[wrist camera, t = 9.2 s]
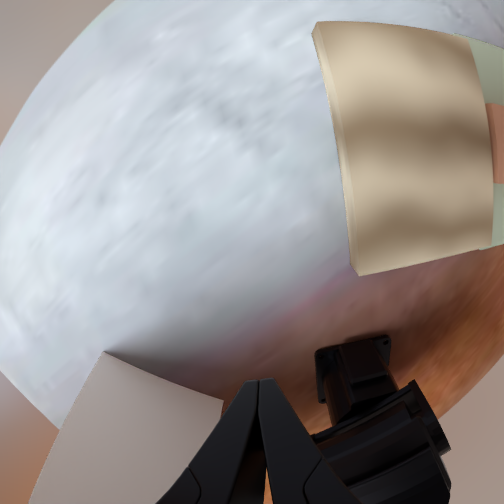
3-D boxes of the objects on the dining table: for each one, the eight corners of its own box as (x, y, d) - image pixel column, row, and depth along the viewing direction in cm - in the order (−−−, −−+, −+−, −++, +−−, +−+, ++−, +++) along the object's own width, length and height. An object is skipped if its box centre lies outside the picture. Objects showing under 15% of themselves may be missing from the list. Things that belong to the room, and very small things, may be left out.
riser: (476, 237, 18) (491, 245, 16) (350, 264, 19) (359, 276, 17) (453, 44, 13) (467, 38, 11) (311, 33, 14) (317, 21, 12)
